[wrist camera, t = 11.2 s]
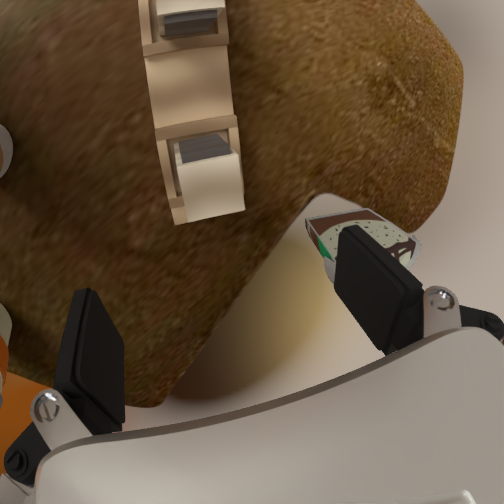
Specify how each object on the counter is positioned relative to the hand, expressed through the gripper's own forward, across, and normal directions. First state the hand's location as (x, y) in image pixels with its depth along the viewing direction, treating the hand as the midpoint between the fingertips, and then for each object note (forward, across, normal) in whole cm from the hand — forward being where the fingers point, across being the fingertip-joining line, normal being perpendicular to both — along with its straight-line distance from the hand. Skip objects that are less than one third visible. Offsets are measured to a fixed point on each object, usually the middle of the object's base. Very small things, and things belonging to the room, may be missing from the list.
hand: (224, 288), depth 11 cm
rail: (+21, -1, -7) cm, 22 cm away
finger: (+18, -1, 0) cm, 18 cm away
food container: (+20, -17, +13) cm, 30 cm away
